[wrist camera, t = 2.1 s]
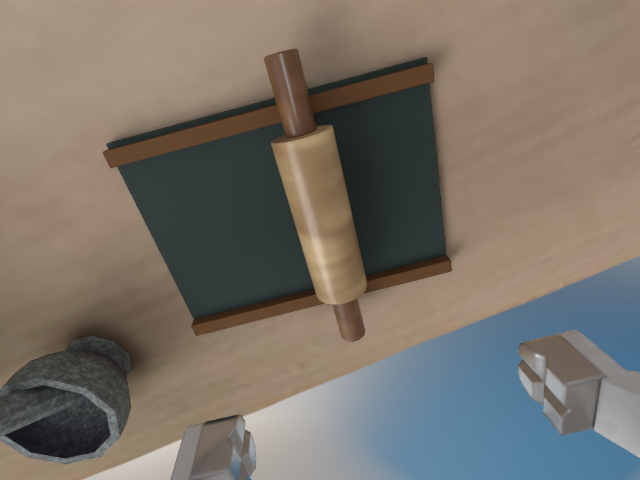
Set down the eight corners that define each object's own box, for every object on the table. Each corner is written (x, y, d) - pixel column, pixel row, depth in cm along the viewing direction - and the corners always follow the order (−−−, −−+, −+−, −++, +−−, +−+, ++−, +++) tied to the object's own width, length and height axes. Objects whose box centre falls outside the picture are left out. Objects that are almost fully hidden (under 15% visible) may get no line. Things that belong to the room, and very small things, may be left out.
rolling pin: (312, 46, 24) (317, 40, 20) (371, 312, 33) (382, 344, 29) (250, 64, 24) (242, 60, 20) (327, 323, 34) (332, 356, 30)
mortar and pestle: (170, 372, 35) (117, 502, 24) (98, 410, 37) (18, 549, 26) (85, 293, 31) (-25, 409, 20) (7, 339, 32) (-137, 472, 21)
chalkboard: (424, 57, 25) (432, 56, 24) (445, 266, 33) (452, 275, 31) (108, 143, 26) (98, 146, 24) (201, 328, 33) (197, 339, 32)
